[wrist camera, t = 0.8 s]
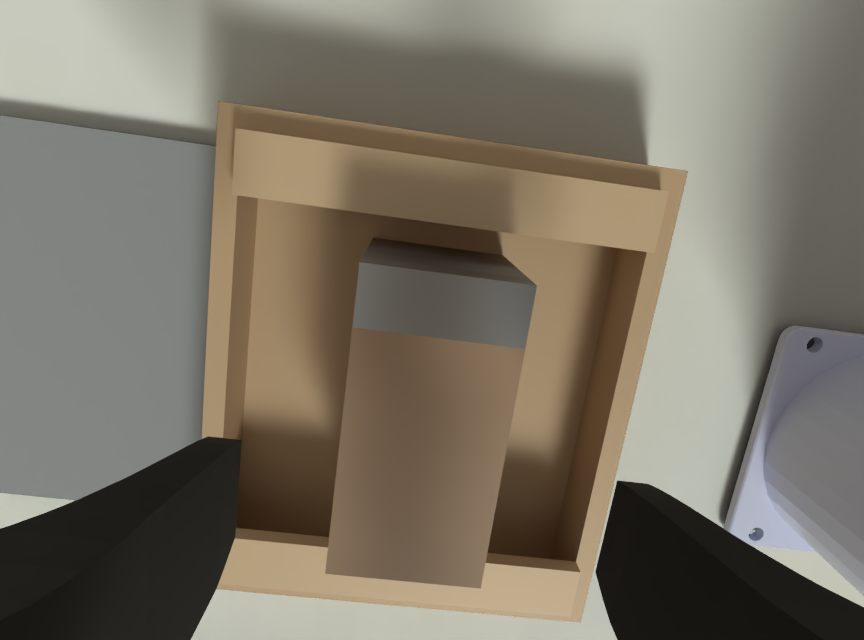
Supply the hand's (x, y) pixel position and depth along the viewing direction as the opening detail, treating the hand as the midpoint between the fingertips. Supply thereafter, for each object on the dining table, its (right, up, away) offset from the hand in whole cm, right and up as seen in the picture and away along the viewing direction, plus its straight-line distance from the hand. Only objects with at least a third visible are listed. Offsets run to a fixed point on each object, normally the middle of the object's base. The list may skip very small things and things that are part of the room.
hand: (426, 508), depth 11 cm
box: (0, +2, +8) cm, 8 cm away
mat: (-10, +3, +7) cm, 13 cm away
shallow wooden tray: (0, +2, +8) cm, 8 cm away
